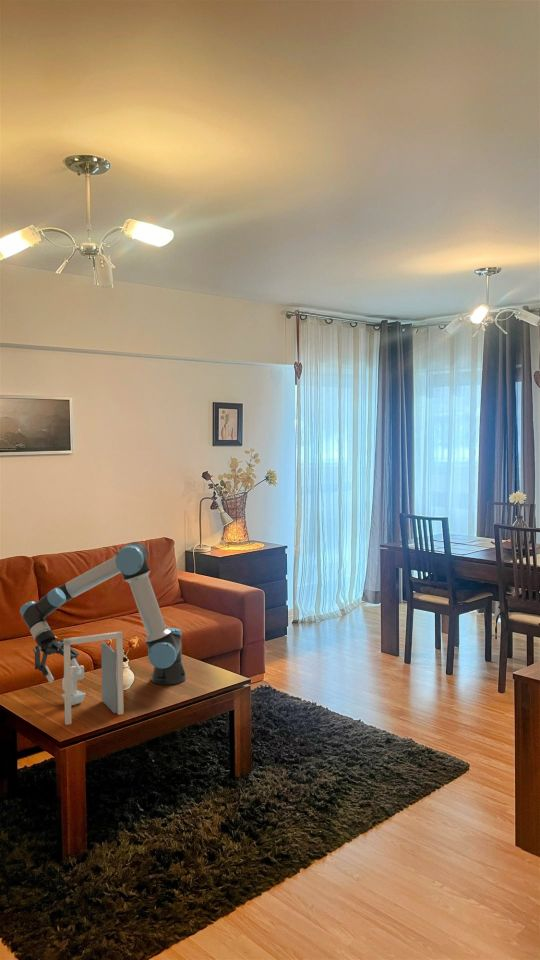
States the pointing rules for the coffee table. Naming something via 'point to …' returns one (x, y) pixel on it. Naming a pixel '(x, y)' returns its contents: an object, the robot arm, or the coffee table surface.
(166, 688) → the coffee table surface
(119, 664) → the door frame
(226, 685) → the coffee table surface
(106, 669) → the door
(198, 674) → the coffee table surface
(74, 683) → the figurine
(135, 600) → the robot arm
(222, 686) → the coffee table surface
